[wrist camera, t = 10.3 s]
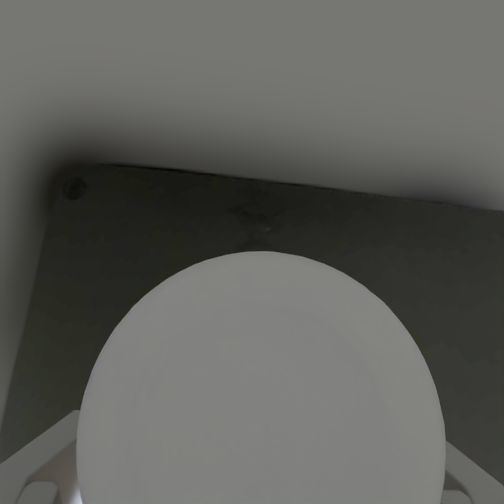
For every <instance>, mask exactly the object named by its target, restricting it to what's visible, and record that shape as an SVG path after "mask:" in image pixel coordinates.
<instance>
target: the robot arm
mask: <svg viewBox="0 0 504 504" xmlns="http://www.w3.org/2000/svg"><path fill="white" fill-rule="evenodd" d="M79 414H80V410H74V411H73V412H71V413H70V414H69V415H67V416H66V417H64V418H63V419H62V420H60V421H59V422H58V423H56V424H55V425H53V426H52V427H51V428H49V429H48V430H47V431H45V432H44V433H42V434H41V435H40V436H38V437H37V438H36V439H34V440H33V441H32V442H30V443H29V444H27V445H26V446H25V447H23V448H22V449H21V450H19V451H18V452H16V453H15V454H14V455H12V456H11V457H10V458H8V459H7V460H5V461H4V462H3V463H1V464H0V504H83V503H82V499H81V496H80V489H79V482H78V475H77V459H76V444H77V427H78V421H79ZM445 446H446V460H445V477H444V485H443V490H442V496H441V501H440V504H504V486H503V485H502V484H500V483H499V482H498V481H497V480H495V479H494V478H493V477H492V476H490V475H489V474H488V473H487V472H485V471H484V470H483V469H481V468H480V467H479V466H478V465H476V464H475V463H474V462H473V461H471V460H470V459H469V458H468V457H466V456H465V455H464V454H462V453H461V452H460V451H459V450H457V449H456V448H455V447H454V446H452V445H451V444H450V443H449V442H447V441H446V440H445Z"/></svg>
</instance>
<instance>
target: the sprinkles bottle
mask: <svg viewBox="0 0 504 504" xmlns="http://www.w3.org/2000/svg"><path fill="white" fill-rule="evenodd" d="M76 459H77V475H78V482H79V489H80V496H81V499H82V503H83V504H440V501H441V496H442V490H443V485H444V477H445V460H446V446H445V428H444V421H443V417H442V413H441V408H440V403H439V399H438V395H437V391H436V387H435V385H434V382H433V379H432V377H431V374H430V371H429V369H428V367H427V364H426V362H425V360H424V358H423V356H422V354H421V352H420V350H419V348H418V346H417V345H416V343H415V342H414V340H413V339H412V337H411V335H410V334H409V332H408V331H407V330H406V328H405V327H404V326H403V324H402V323H401V322H400V320H399V319H398V318H397V317H396V316H395V315H394V313H393V312H392V311H391V310H390V309H389V308H388V306H387V305H386V304H385V303H384V302H383V301H381V300H380V299H379V298H378V297H377V296H375V295H374V294H373V293H371V292H370V291H369V290H368V289H367V288H366V287H365V286H363V285H362V284H360V283H358V282H357V281H355V280H354V279H352V278H351V277H349V276H348V275H346V274H344V273H342V272H340V271H338V270H336V269H334V268H332V267H330V266H328V265H326V264H324V263H320V262H317V261H314V260H311V259H308V258H305V257H302V256H296V255H290V254H284V253H278V252H267V251H259V252H242V253H235V254H229V255H224V256H220V257H216V258H213V259H209V260H206V261H203V262H200V263H197V264H194V265H192V266H190V267H188V268H186V269H184V270H182V271H180V272H179V273H177V274H175V275H173V276H171V277H170V278H168V279H166V280H165V281H164V282H162V283H161V284H159V285H158V286H156V287H155V288H154V289H153V290H151V291H150V292H149V293H148V294H146V295H145V296H144V297H143V298H142V299H141V300H140V301H139V302H138V303H137V304H135V305H134V306H133V308H132V309H131V310H130V311H129V312H128V313H127V315H126V316H125V317H124V318H123V319H122V320H121V322H120V323H119V324H118V325H117V327H116V328H115V329H114V331H113V332H112V334H111V335H110V337H109V338H108V340H107V342H106V344H105V345H104V347H103V349H102V350H101V352H100V354H99V357H98V359H97V361H96V363H95V365H94V367H93V370H92V373H91V375H90V378H89V381H88V384H87V387H86V389H85V393H84V397H83V401H82V405H81V409H80V414H79V421H78V427H77V444H76Z"/></svg>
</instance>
